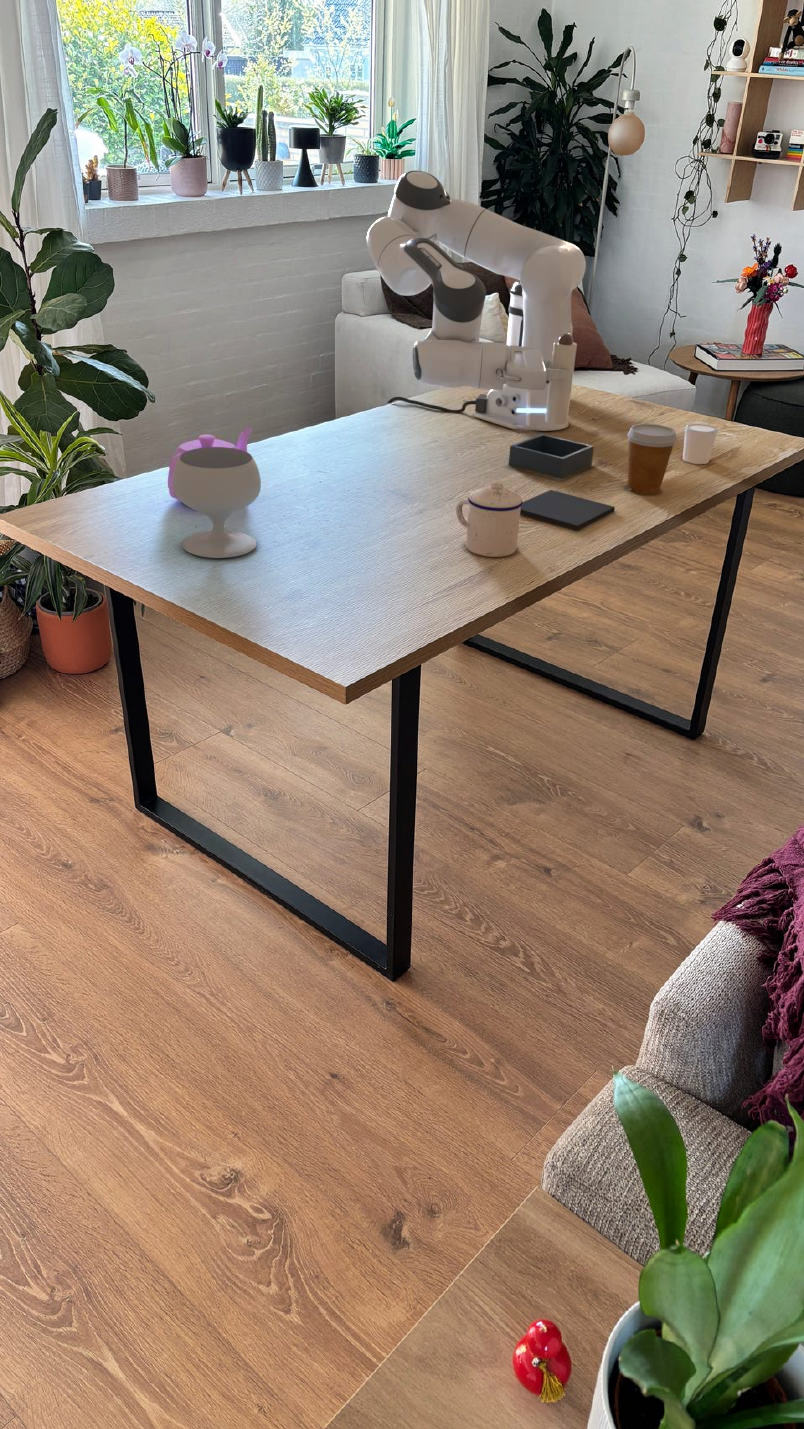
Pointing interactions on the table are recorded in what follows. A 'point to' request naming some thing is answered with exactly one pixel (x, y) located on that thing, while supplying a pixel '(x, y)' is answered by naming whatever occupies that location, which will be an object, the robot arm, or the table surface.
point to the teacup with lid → (491, 520)
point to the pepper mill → (561, 380)
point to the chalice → (217, 496)
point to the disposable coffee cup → (648, 456)
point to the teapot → (202, 443)
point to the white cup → (698, 443)
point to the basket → (551, 455)
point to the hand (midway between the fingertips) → (566, 370)
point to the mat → (564, 510)
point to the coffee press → (515, 316)
